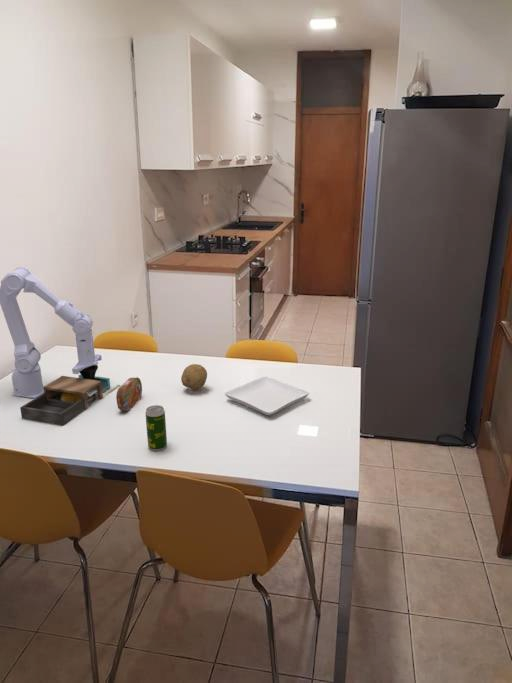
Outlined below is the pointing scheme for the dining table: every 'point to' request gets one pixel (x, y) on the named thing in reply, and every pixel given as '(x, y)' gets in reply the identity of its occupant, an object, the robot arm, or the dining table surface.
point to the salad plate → (266, 395)
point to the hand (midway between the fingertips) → (89, 385)
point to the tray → (60, 415)
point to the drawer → (105, 386)
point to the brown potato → (194, 377)
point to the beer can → (156, 428)
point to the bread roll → (71, 397)
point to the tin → (129, 394)
